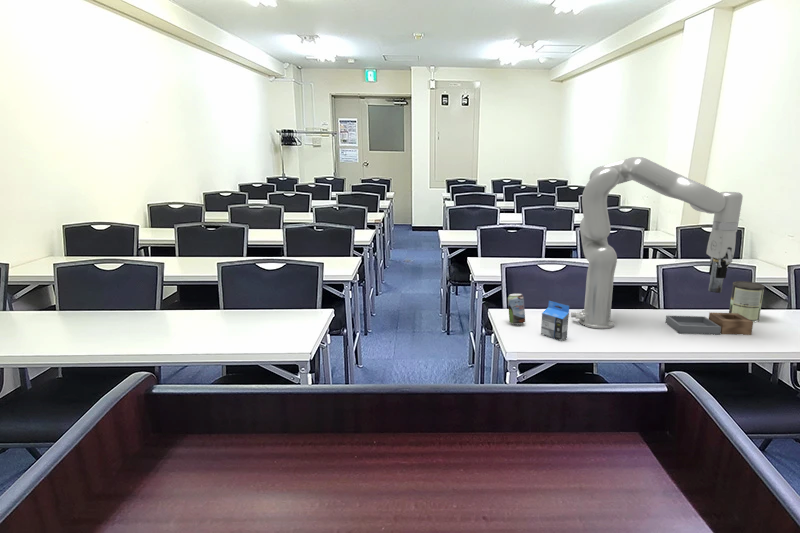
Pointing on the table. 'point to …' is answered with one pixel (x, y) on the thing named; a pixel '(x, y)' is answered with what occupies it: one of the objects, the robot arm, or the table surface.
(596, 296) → the robot arm
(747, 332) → the block
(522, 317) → the beverage can
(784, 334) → the table surface
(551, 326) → the label tape cartridge
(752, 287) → the coffee can
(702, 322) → the tray
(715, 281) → the steel pin
